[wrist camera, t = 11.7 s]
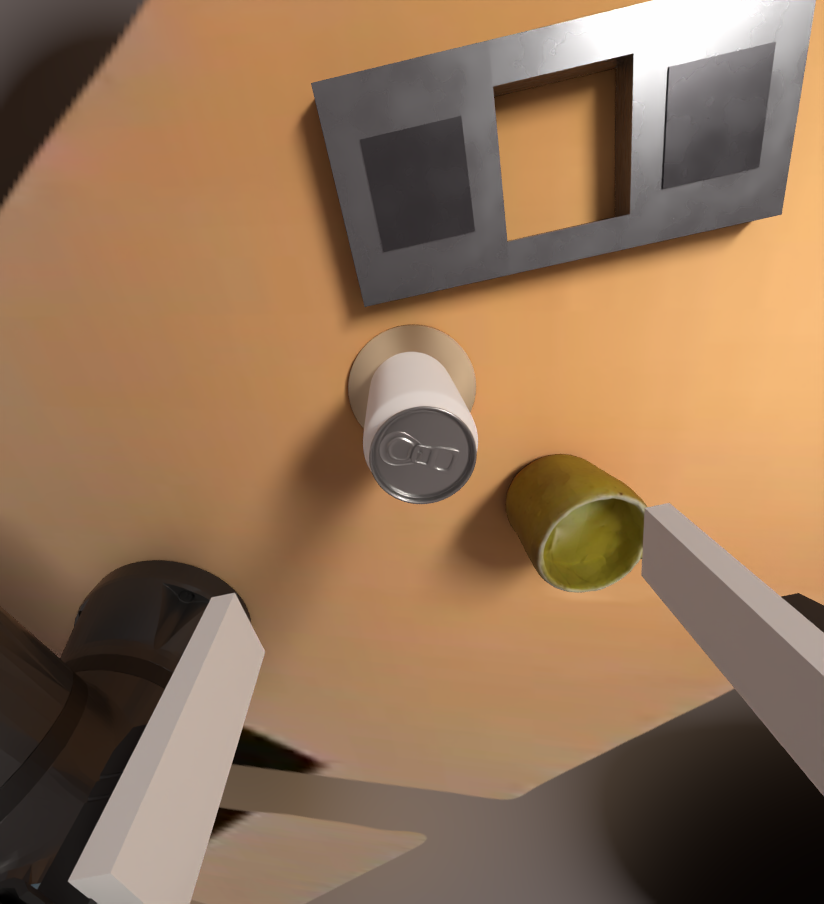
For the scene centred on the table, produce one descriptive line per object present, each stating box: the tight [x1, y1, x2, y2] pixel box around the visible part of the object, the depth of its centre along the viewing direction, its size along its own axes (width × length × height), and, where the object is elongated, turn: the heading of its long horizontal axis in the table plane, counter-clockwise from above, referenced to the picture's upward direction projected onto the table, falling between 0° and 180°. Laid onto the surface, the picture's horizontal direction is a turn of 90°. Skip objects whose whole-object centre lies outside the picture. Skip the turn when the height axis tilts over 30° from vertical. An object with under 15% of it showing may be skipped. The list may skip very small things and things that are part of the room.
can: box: [363, 352, 478, 504], centre depth 27 cm, size 6×6×12 cm
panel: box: [311, 0, 816, 307], centre depth 26 cm, size 28×12×2 cm, turn 101°
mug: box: [506, 454, 647, 592], centre depth 34 cm, size 12×10×10 cm
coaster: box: [348, 325, 476, 428], centre depth 32 cm, size 10×10×1 cm
